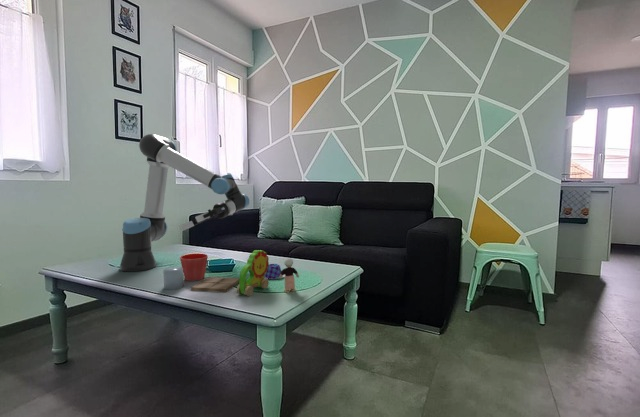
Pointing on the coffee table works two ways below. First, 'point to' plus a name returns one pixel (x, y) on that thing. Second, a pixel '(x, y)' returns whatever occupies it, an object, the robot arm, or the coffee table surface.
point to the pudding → (273, 271)
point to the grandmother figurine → (289, 275)
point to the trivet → (215, 284)
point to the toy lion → (254, 273)
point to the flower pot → (194, 266)
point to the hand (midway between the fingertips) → (188, 224)
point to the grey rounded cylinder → (173, 278)
